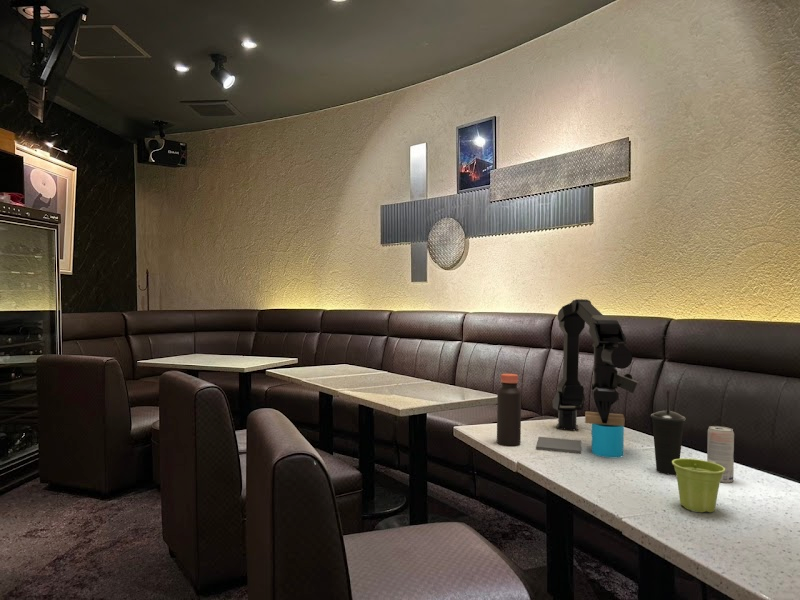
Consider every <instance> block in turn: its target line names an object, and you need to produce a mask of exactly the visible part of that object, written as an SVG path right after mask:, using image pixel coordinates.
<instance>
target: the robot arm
mask: <svg viewBox="0 0 800 600" xmlns="http://www.w3.org/2000/svg"><path fill="white" fill-rule="evenodd" d="M557 321H558V326H559V328H560V329H561V332H562V333H563V359H562V361H563V362H562V363H563V364H562V378H561V380H560V382H559V383H558V385H557V388H556V393H555V395H554V396H553V399H552V402H551V403H552V408H553V409H554V410H556V411H558V420H557V421H558V422H557V423H556V429H558V430H565V431H566V430H567V431H579V430H578V427H579V426H578V424H577V416H578V415H577V414H578V413H577V412H578V411H583V410H584V406H585V400H586V399H585V398H586V396H585V394H584V389H585V388H584V386H583V385H582V384H581V382H580V381H579V362H580V361H579V360H580V359H579V357H580V355H579V354H580V353H579V351H580V335H581V333H582V332H583V331H584V329H585V327H586V324H587V325H588V326H589V330H588V333H589V334H590V337H591V338H592V341H593V343H592V345H591V346H592V348H593V380H592V382H591V390H592V396H593V397H592V398H593V401H594V403H595V406H596V408H597V412H599V415H600V417H601V420H602V423H607V420H608V416H609V413H610V411H611V408H612V405H613V404H615V403H616V402H617V401H619V395H620V392H619V391H618V387H619V388H621V389H623V390H626V391H628V392H629V393H632V394H635V392H636V390H637V387H638V385H639V382H638V381H637V380H636V379H633V375H632V374H630V373H629V372H625V373H624V374H620V373H618V370H617V369H621V370H622V369H627V368H628V367H630V366H631V364H632V362H633V355H632V352H631V351H630V349H629V348H628V347H626V345H627V341H626V340H627V337H626V336H625V333H624V332H623V328H622V326H621V324H620V322H619V321H618V320H617V319H615V318H613V317H610V316H606V315H603V314H602V313H601V311H599V310H598V309H597V308H596V306H594V305H593V304H592V302H591V300H589V299H585V298H584V299H582V298H581V299H580V298H578V299H576V298H575V299H572V301H571V302H570V303H567V304H565V305H562V306H561V308H560V309H559V310H558V312H557Z"/></svg>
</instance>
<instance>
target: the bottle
mask: <svg viewBox="0 0 800 600" xmlns="http://www.w3.org/2000/svg"><path fill="white" fill-rule="evenodd" d="M500 382H501V383H500V384H501V387H500V388H498V390H497V392H496V393H497V397H496V398H497V401H496V403H497V404H496V405H497V406H496V407H497V408H496V416H497V417H496V442H497V444H499V445H500V446H505V445H506V447H507V446H508V447H516V446H519V445H520V444H521V434H522V433H521V432H522V431H521V428H522V427H521V426H522V391H520V389H519V388H518V384H519V375H518V374H515V373H501V374H500Z"/></svg>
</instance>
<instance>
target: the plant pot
mask: <svg viewBox="0 0 800 600" xmlns="http://www.w3.org/2000/svg"><path fill="white" fill-rule="evenodd" d="M672 464H673V465H674V468H675V472H676V474H675V475H676V480H677V488H678V497H679V505H681V506H683V507H684V508H685V509H686V510H688V511H692V512H697V513H704V512H707V513H713V512H715V510H716V506H717V499H718V493H719V487H720V484H721V482H720V479H721V478H722V474H723V472H725V468H724V467H723V466H721V465H719V464H716V463H712V462H708V461H707V460H703V459H702V460H701V459H697V458H696V459H695V458H680V459H675V460H673V461H672Z"/></svg>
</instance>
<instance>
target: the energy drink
mask: <svg viewBox="0 0 800 600" xmlns="http://www.w3.org/2000/svg"><path fill="white" fill-rule="evenodd" d="M733 430H734V429H733V428H730V427H726V426H720V425H712V426H711V425H710V426H708V429H707V449H706V451H707V454H706V455H707V457H706V458H707V459H706V461H708V462H712V463H716V464H719V465H721V466H723V467H724V468H725V472H723V474H722V478H721V479H720V483H722V484H725V483H726V484H728V483H732V482H733V481H734V468H735V465H734V464H735V461H734V460H735V454H734V452H735V432H734V431H733Z"/></svg>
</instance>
